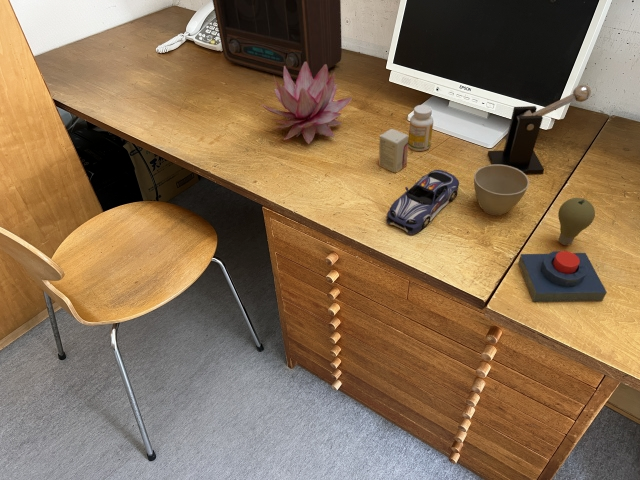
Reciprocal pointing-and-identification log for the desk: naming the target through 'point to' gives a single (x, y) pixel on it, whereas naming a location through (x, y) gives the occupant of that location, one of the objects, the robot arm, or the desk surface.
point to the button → (566, 262)
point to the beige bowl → (499, 188)
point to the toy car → (431, 192)
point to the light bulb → (574, 218)
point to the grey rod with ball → (562, 101)
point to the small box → (393, 150)
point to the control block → (560, 279)
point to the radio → (280, 34)
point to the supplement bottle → (420, 128)
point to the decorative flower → (308, 103)
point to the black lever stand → (520, 143)
